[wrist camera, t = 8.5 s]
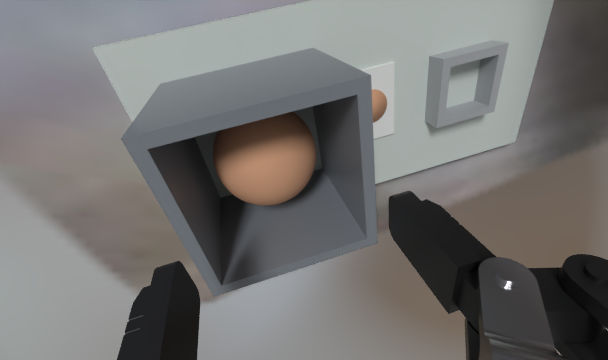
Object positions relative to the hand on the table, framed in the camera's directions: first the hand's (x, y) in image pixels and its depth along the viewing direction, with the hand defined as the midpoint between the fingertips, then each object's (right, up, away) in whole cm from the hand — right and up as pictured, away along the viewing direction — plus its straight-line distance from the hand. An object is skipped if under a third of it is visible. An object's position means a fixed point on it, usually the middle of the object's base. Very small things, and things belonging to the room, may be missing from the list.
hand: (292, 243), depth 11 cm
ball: (-2, +4, +6) cm, 8 cm away
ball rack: (+4, +8, +10) cm, 14 cm away
